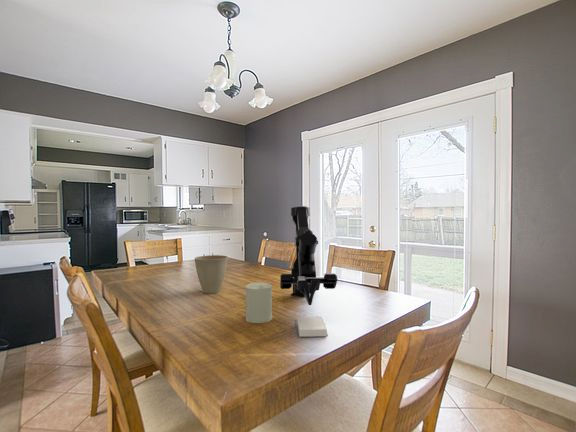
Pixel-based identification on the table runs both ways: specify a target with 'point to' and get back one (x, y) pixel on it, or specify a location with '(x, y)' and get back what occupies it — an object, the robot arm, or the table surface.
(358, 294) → the table surface
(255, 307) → the can
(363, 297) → the table surface
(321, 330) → the tile
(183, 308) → the table surface
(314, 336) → the mat
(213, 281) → the plant pot
